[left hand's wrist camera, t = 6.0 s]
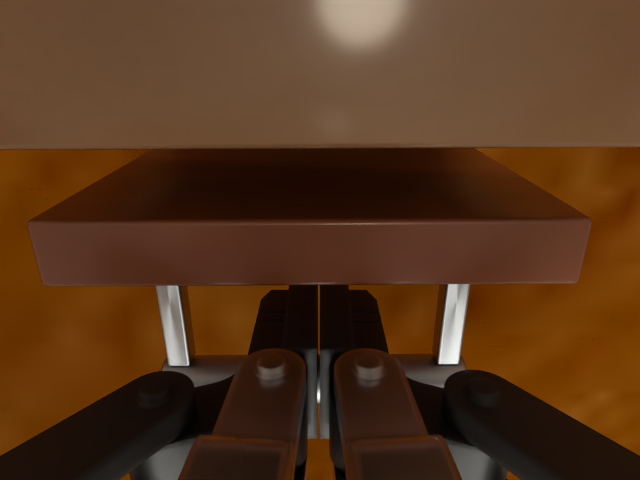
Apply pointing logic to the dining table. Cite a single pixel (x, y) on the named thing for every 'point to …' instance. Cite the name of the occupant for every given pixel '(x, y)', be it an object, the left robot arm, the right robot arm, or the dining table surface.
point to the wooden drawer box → (319, 74)
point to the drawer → (310, 234)
